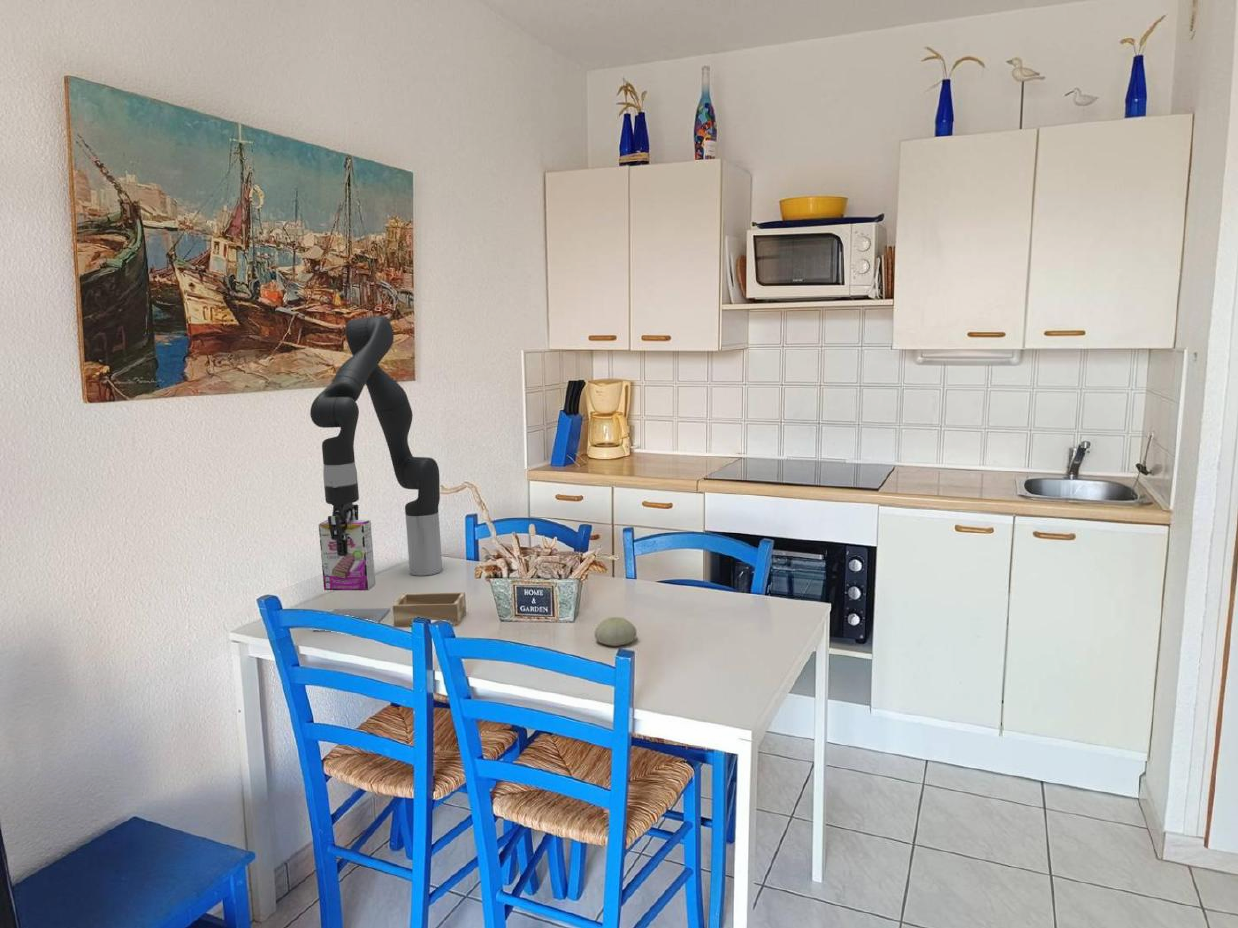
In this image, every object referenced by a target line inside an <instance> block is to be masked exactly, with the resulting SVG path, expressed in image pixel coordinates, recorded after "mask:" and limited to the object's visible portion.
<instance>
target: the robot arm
mask: <svg viewBox="0 0 1238 928" xmlns="http://www.w3.org/2000/svg"><path fill="white" fill-rule="evenodd" d="M344 331H345V332H344V333H345V334H344V335H345V340H346V343H347V345H348V347H349V350H350V352H351V355H352V356H351V357H350V358H348V359H347V360H345V361H344V363H342V365H341V366H340V367H339V368H338V370H337V371H336V374H334V375H335V376H334V377H333V379H332V382H331V383H330V384H329V385H328V386H327V387H325V389H323V391H321V392H320V393H319V394H318V395H317V396H316V397H315V398H314V400H313V402H312V404H311V405H310V406H311V407H310V410H309V411H310V412H309V415H310V419H311V421H312V423H313V424H314V425H315V426H316V427H319V428H324V429H325V428H326V429H327V428H328V429H329V428H332V429H333V428H340V430H339V433H338V435H337V436H332V437H329V438H326V439H324V440H323V441H322V443H321V452H322V461H323V486H324V498H325V503H326V504H328V505H332V514H331V515H328V516H327V520H328V523H329V528H330V534H331V539H332V540H336V544H337V554H338V556H346V555H347V554H348V551H347V540H346V535H347V534H346V531H347V530H348V524H349V521H351V520H359V504H354V503H356V502H358V501H359V499H360V494H359V483H358V482H359V481H358V471H357V467H356V460H355V459H356V458H355V446H354V445H355V444H354V443H355V437H356V431H357V430H356V429H357V425H358V421H359V416H360V415H359V414H360V413H359V412H360V410H359V406H358V404H357V401H358V400H359V398H360V396H361V395H362V392H363V389H364V388H365V385H366V389H367V390H368V394H369V396H370V400H371V403H372V406H373V409H374V412H375V414H376V417H377V420H378V422H379V424H380V427H381V429H382V432H383V435H384V438H385V441H386V444H387V448H388V451H389V455H390V459H391V462H392V467H393V471H394V475H395V479H396V481H397V482H398V484H399V485H400V487H402V488H404V489H406V490H418V491H417V498H416V499H414V500H412V501H409V502H407V503H406V504H405V506H404V513H405V524H406V537H407V538H406V540H407V541H406V542H407V554H408V566H409V574H410V575H412V576H423V577H424V576H432V575H435V574H439V573H441V572H442V571H443V559H442V557H443V555H442V544H441V543H442V542H441V530H440V516H439V515H440V514H439V505H440V499H441V496H440V492H441V491H440V490H441V489H440V468H439V465H438V462H437V461H436V460H435V459H434V458H432V457H426V456H422V457H421V456H414V455H413V454H412V452H411V448H410V446H409V442H408V437H409V432H410V429H411V425H412V421H413V418H414V417H413V410H412V407H411V404H410V400H409V398H408V395H407V393H406V391H405V389H404V388H403V387H402V386H401V385H400V384H399V383H398V382H397V381H396V380H395V379H393V377H391V376H390V375H389V374H388V373H386V372H385V371H384V369H382V367H381V366H380V365H379V364H380V362H381V361H382V360H383V358H384V357H385V356H386V355H387V353H388V352H389V351H390V350H391V348H392V346H393V343H394V338H395V336H394V328H393V325H392V323H391V322H390V320H389V319H388V318H387V317H385V316H383V315H374V316H367V317H361V318H356V319H350V320H348V321H347V322H346V324H345V326H344ZM343 524H345V526H344V527H342V526H341V525H343ZM342 530H343V531H342ZM334 531H335V533H334ZM338 532H339V534H338Z"/></svg>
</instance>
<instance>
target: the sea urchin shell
mask: <svg viewBox="0 0 1238 928" xmlns="http://www.w3.org/2000/svg"><path fill="white" fill-rule="evenodd" d="M594 637H595V640H596V641H597V642H598V643H600V644H602V645H606V646H611V647H618V646H624V645H629V644H630V643H633V642H634V641H635V640H636V638H637V629H636V626H634V624H633V623H632V622H631V621H630V620H628V619H626V618H623V617H619V616H611V617H607V618H606V619H604V620H603V619H602V621H600V623H599V624H598V625H597V626H596V627H595V631H594Z"/></svg>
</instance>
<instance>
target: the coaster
mask: <svg viewBox="0 0 1238 928" xmlns="http://www.w3.org/2000/svg"><path fill="white" fill-rule="evenodd" d="M331 612H332V613H336V614H342V615H349V616H354V617H358V618H360V619H368V620H372V621H375V622H378V624H379V623H381V621H382V620H383V619H384V618H385V617H386V616H387V615H388V614H389V613H390V612H391V607H387V608H384V607H383V608H381V607H380V608H378V607H377V608H336V609H333V610H332V611H331ZM312 632H319V631H318V630H313V629H312Z"/></svg>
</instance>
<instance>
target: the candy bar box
mask: <svg viewBox="0 0 1238 928" xmlns="http://www.w3.org/2000/svg"><path fill="white" fill-rule="evenodd" d="M341 526H342V527H344V526H345V524H343V525H341ZM342 531H343V530H342ZM318 533H319V534H318V535H319V543H320V545H319V546H320V554H321V555H320V556H321V569H322V570H321V571H322V583H323V591H363V592H365V591H366V592H367V591H369V590H370V589H372V588H373V587H375V585H376V577H375V576H376V573H375V563H374V562H375V561H374V560H375V559H374V547H373V537H372V535H373V533H372V522H371V519H358V520H351V521H349V524H348V530H347V531H346V534H347V535H346V540H347V551H348V554H347V555H346V556H338V554H337V544H336V540H332V539H331V534H330V528H329V523H328V519H325V520H324V521H322V522H320V523H319V524H318ZM334 533H335V531H334ZM338 534H339V532H338Z"/></svg>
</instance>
